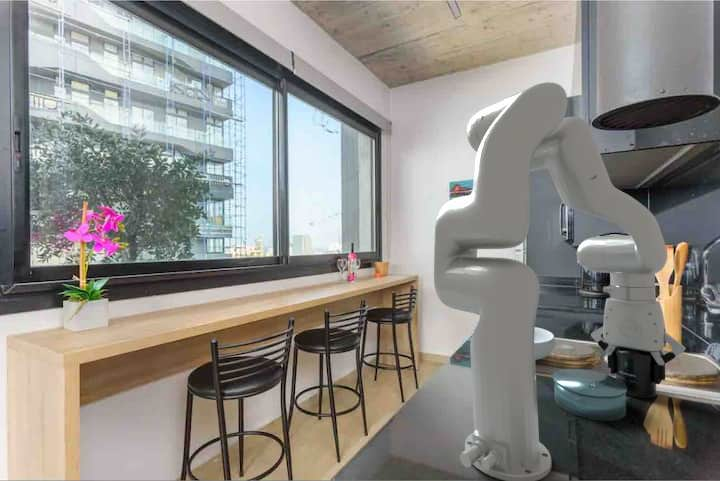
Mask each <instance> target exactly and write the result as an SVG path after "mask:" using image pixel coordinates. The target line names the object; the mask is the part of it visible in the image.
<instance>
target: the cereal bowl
mask: <svg viewBox="0 0 720 481" xmlns="http://www.w3.org/2000/svg"><path fill="white" fill-rule="evenodd" d="M534 344H535V362H536V361H537V360H538V361H539V360H541V359H544V358H546V357H548V356H549V355H551V353H552V352H553V350H554V349H555V336H554V333H552V332H551V331H550V330H547V329H544V328H541V327H537V326H535V333H534Z"/></svg>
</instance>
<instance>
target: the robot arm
mask: <svg viewBox="0 0 720 481" xmlns="http://www.w3.org/2000/svg"><path fill="white" fill-rule="evenodd" d="M567 109H568V95H567V92H566V90H565V89H564V87H563V86H561V85H560V84H558V83H555V82H550V81H549V82H541V83H537V84H534V85H533V86H530V87H528V88H526V89H524V90H522V91H520V92H518V93H515V94H513V95H511V96H509V97H506V98H505V99H503V100H501V101H498V102H495V103H494V104H492V105H490V106H487V107H485V108H483V109H481V110H479V111H477V113H475V114H474V115H473V116H472V117H471V118H470V120H469V122H468V124H467V127H466V138H467V140H468V143H469V145H470V146H471V148H472V149H473V150H474V151H475V153H476V155H475V159H474V164H473V165H474V167H473V179H472V190H471V193H470V194H468V195H461V196H458V197H454V198H452V199H450V200H448V201H447V202H445V204H443V206H442V207H441V208H440V210H439V212H438V215H437V217H436V221H435V226H434V249H433V251H434V252H433V253H434V254H433V256H434V257H433V258H434V259H433V284H434V289H435V292H436V296H437V298H438V299H439V301H440V302H441V303H442V304H444V305H445V306H446V307H448V308H450V309H454V310H457V311H462V312H466V313H470V314H471V313H472V314H474V315H478V316H479V320H478V323H477V324H476V327H474V330H473V332H472V334H471V338H470V344H469V357H470V372H471V386H472V387H471V390H472V391H471V392H472V413H473V432H471V433H470V434H468V436H467V438H466V439H465V441H464V451H462V452H461V453H460V454H459V460H460V463H461V465H462V466H464V467H465V468H470V467H471V466H474V467H475V468H477V469H478V470H479V471H481V472H482V473H484V474H486V475H488V476H489V477H492V478H494V479H495V478H496V479H499V480H501V481H539V480H542V479H543V478H546V477H547V475H549V473H550V472H551V469H552V456H551V454H550V451H549V449H547V448H546V447H545V445H544V444H543V443H541V442H540V439H539V438H540V435H539V434H540V432H539V414H538V413H539V412H538V393H537V392H538V389H537V370H536V367H537V365H536V361H535V344H534V333H535V327H536V319H537V318H536V317H537V312H538V306H539V299H540V281H539V278H538V276H537V274H536V273H535V271H534V269H532V268H531V267H530V266H529V265H528V264H526V263H525V262H523V261H520V260H516V259H513V258H507V257H491V256H490V257H485V256H484V257H483V256H480V257H479V256H478V250H505V249H512V248H517V247H519V246H520V245H522V244H523V243H524V241H526V239H527V237H528V234H529V230H530V218H531V217H530V215H531V214H530V213H531V212H530V211H531V208H530V207H531V172H535V171H540V170H545V169H546V170H548V173H549V174H550V177H551V179H552V181H553V183H554V186H555V188H556V190H557V193H558V195H559V198H560V199H561V202H562V203H563V205H564V206H565V207H567V208H568V209H570V210H573V211H577V212H579V213H583V214H586V215H588V216H589V215H590V216H592V217H597V218H600V219H602V220H606V221H607V222H611V223H613V224H615V225H617V226H618V227H620V228H621V229H623V230H624V231H625V232H626V233H627V234H628V235H627V234H626V235H604V236H603V235H602V236H593V237H591V236H590V237H588V238H586V239H584V240H583V241H582V242H581V243H580V244H579V245H578V247H577V249H576V258H577V262H578V264H579V265H580V266H581V267H582V268H584V269H585V270H588V271H590V272H594V273H606V274H609V278H610V279H609V280H610V282H609V285H608V286H606V285H605V286H603V287H602V292H603V293H607V294H609V297H608V298H606V300H605V304H604V312H603V325H602V326H601V327H599V328H597V329H596V330H594V331H592V332H591V333H590V336H591V338H592V339H593V341H595V342H596V343H597V345H598V346H599V347H600V348H601V349H602V350H603V352H604V353H605V354H606V355H607V368H608V369H610V374H612V375H616V370H615V350H616V348H617V347H618V346H619V347H624V348H630V349H635V350H641V351H647V352H651V354H652V355H653V357H654V359H655V360H656V361H655V364H654V383H655V384H656V385H660V383H661V382H662V381H665V380H666V364H667V363H669V362H671V361H672V360H674V359H675V358H676V357H678V356H680V355H681V354H682V353H684V352H685V350H686V347H685V346H684V345H683V344H682V343H680V341H678V340H676V339H675V338H674V337H672V336H671V335H670V334H669V333H668V332H666V324H665V319H664V317H665V316H664V313H663V308H662V305H661V303H660V301H659V300H656V299H657V297H656V274H657V273H659V272H660V271H662V270H663V269H664V268H665V265H666V264H667V259H668V252H667V247H666V243H665V239H664V236H663V234H662V231H661V229H660V225H659V223H658V220H657V219H656V216H654V215H653V213H652V212H651V211H650V210H649V209H648V208H647V207H646V206H645V205H643V204H642V203H641V202H640V201H638V200H637V199H635V198H633V196H631V195H629V194H628V193H625V192H623V191H622V190H620V189H619V188H616V186H614V184H613V183H612V181H611V179H610V176H609V173H608V170H607V168H606V166H605V165H606V164H605V162H604V161H603V158H602V154H601V152H600V150H599V147H598V145H597V143H596V139H595V137H594V134H593V131H592V129H591V127H590V125H589V123H588V122H587V121H586V120H585V119H584V118H582V117H580V116H579V117H577V116H567V117H565V116H566V113H567ZM667 345H669V346H670V347H671V348H672V349H671V350H670V351H668V352H666V353H664V351H663V350H664V348H665V347H666V346H667Z"/></svg>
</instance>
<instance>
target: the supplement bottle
mask: <svg viewBox="0 0 720 481" xmlns="http://www.w3.org/2000/svg"><path fill="white" fill-rule="evenodd" d="M655 361H656V360H655V359H654V357H653V355H652V354H651V352H647V351H641V350H635V349H630V348H624V347H619V346H618V347H617V348H616V350H615V370H616V373H615V378H617V379H619V380H620V381H622V382H623V383H624V384H625V385H626V386H627V393H626V396H631V397H635V398H640V399H650V398H654V397H655V396H656V395H657V384H655V383H654V364H655Z"/></svg>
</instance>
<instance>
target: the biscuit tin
mask: <svg viewBox="0 0 720 481" xmlns="http://www.w3.org/2000/svg"><path fill="white" fill-rule="evenodd" d="M552 380H553V384H554V387H553V388H554V390H553V391H554V403H556V405H557V406H558V407H559V408H561V409H562V410H564V411H566V412H568V413H570V414H572V415H575V416H578V417H580V418H584V419H585V418H586V419H589V420H594V421H603V422H604V421H605V422H609V421H617V420H618V421H619V420H621V419H623V418H625V416H626V415H627V400H626V399H627V398H626V397H627V394H626V393H627V386H626V385H625V384H624V383H623V382H622V381H620V380H619V379H617V378H616V377H615V376H612V375H609V374H606V373H603V372H598V371H594V370H589V369H579V368H566V369H564V368H563V369H559V370H557V371H554V373H553V374H552Z"/></svg>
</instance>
